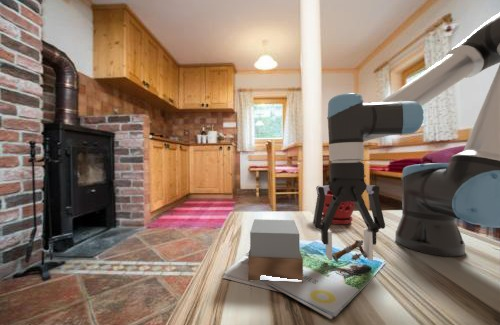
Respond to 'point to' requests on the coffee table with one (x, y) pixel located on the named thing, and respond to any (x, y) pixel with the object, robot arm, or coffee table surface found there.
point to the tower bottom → (275, 267)
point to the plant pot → (339, 210)
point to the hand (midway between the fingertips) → (348, 257)
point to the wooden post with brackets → (349, 249)
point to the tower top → (274, 239)
